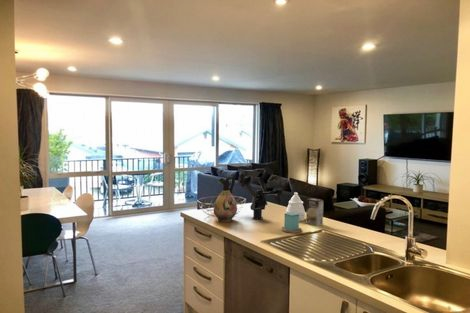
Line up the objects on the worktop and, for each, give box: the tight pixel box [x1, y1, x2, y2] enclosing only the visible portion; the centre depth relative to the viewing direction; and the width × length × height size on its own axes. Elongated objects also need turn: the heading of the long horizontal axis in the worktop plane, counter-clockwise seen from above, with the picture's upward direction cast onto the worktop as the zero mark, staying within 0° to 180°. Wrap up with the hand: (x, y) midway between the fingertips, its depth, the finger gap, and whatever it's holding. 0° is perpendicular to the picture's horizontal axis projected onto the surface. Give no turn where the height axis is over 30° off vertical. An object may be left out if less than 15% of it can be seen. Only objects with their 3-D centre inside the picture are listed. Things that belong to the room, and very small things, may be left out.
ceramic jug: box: [213, 175, 238, 223], centre depth 229 cm, size 17×15×30 cm
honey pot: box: [285, 192, 306, 222], centre depth 237 cm, size 13×13×18 cm
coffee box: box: [305, 197, 324, 227], centre depth 222 cm, size 9×6×16 cm
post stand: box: [281, 226, 303, 234], centre depth 206 cm, size 12×12×4 cm
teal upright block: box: [283, 212, 300, 231], centre depth 206 cm, size 6×6×9 cm
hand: (273, 204), depth 216 cm, fingers open, 9 cm apart
